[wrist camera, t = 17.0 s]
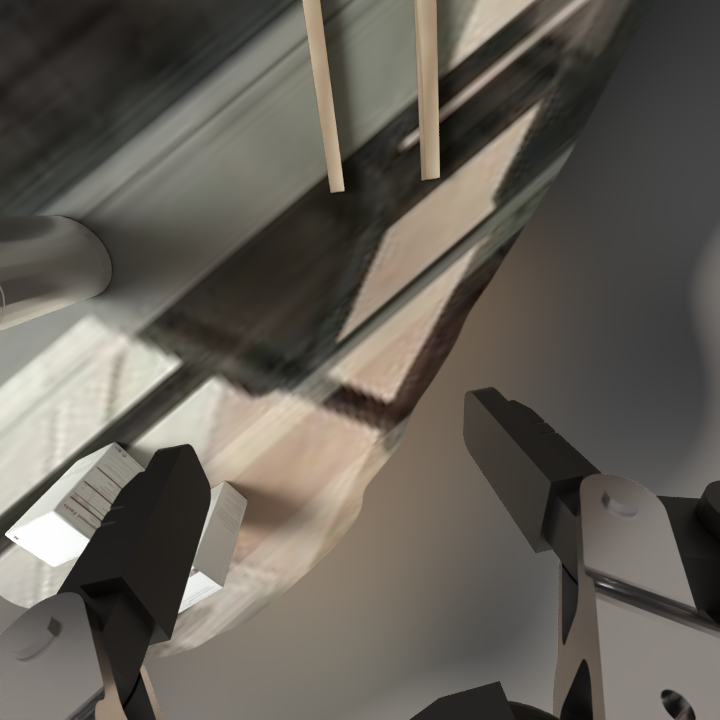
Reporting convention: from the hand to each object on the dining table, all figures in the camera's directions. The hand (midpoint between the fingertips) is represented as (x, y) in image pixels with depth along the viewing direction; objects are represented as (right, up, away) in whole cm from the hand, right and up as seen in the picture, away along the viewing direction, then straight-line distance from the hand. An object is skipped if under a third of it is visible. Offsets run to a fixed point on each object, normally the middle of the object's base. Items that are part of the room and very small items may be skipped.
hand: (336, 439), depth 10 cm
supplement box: (-37, -14, +41) cm, 57 cm away
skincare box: (-23, -21, +45) cm, 55 cm away
